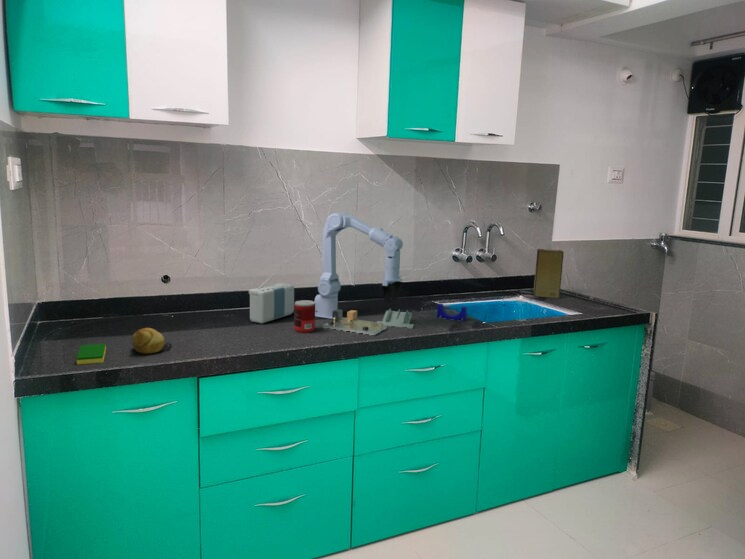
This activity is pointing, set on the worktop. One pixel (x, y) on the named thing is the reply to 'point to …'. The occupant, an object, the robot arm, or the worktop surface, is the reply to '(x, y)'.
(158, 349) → the bread roll
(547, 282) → the food packaging
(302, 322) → the canned food
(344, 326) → the plate
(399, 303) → the worktop surface
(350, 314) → the block
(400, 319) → the metal bracket
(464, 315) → the cable clip
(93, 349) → the dish sponge
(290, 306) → the stereo radio cassette player
